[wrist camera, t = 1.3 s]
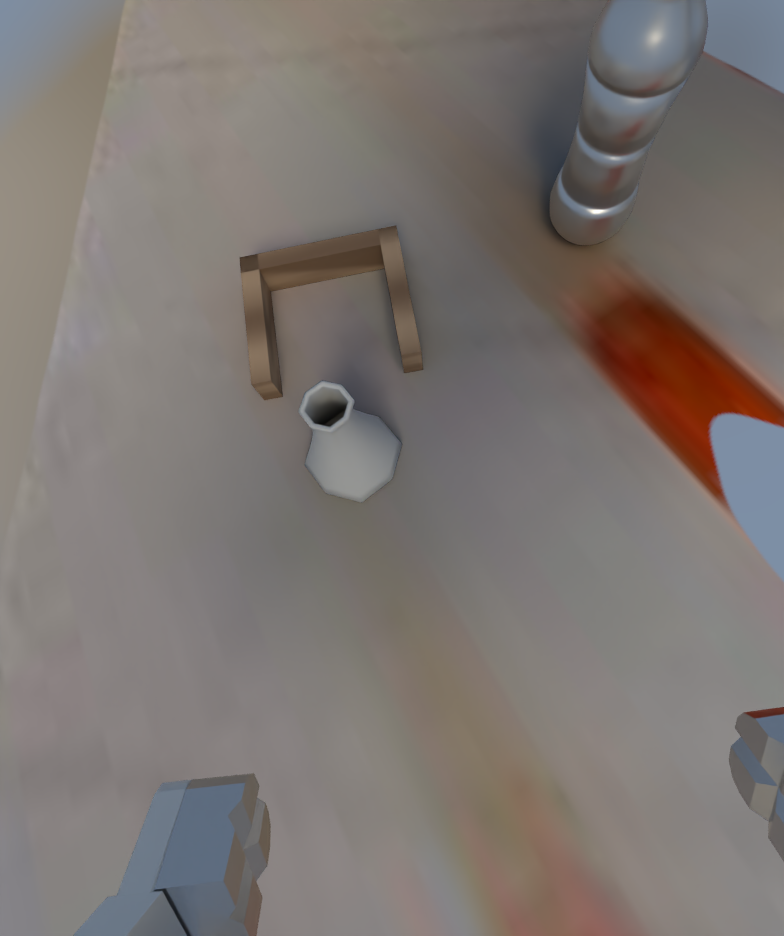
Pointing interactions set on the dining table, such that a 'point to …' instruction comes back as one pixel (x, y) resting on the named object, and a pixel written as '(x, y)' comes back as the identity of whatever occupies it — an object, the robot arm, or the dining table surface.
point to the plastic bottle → (623, 110)
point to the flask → (347, 444)
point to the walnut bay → (318, 266)
